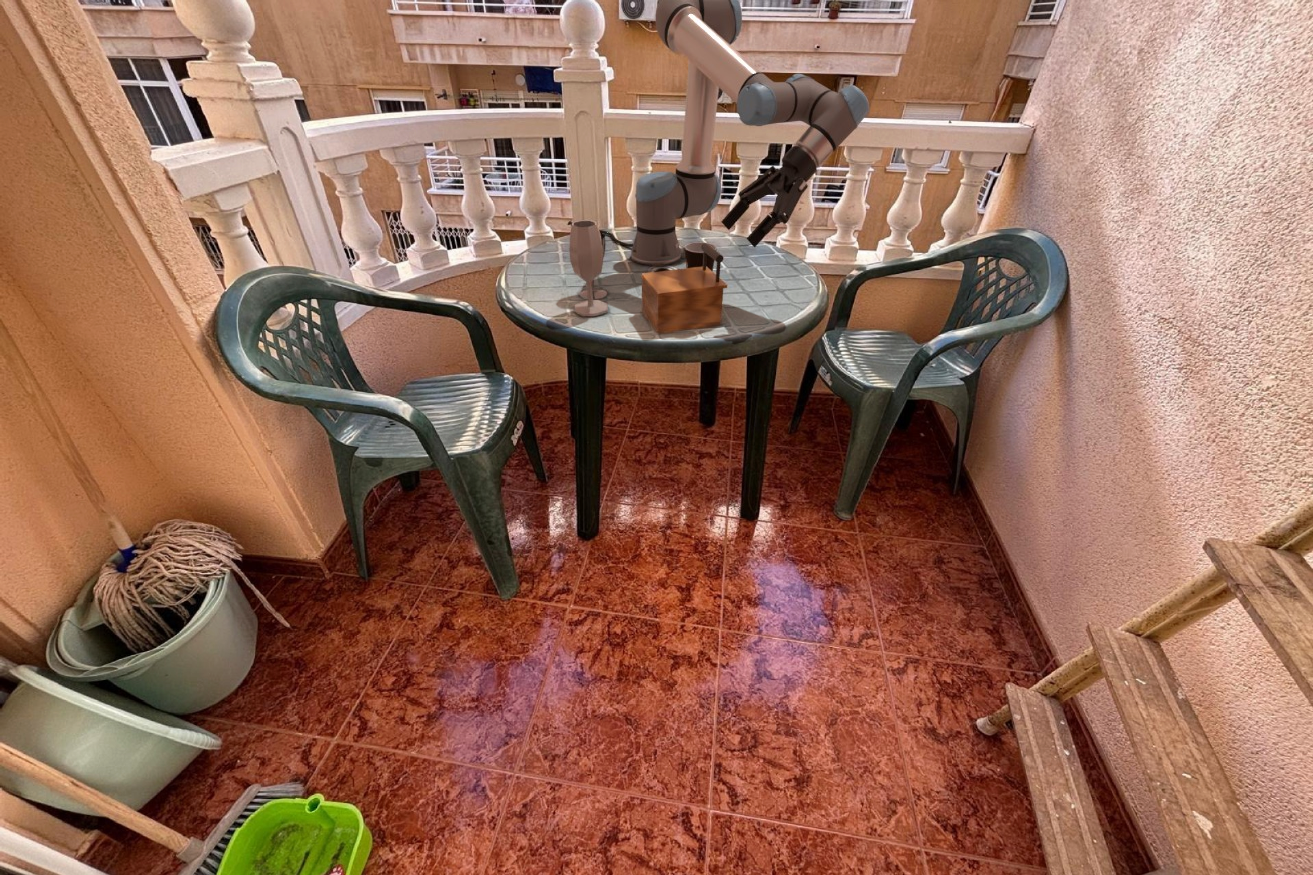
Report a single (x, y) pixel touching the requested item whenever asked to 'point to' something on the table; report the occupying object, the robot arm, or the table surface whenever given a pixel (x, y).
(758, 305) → the table surface
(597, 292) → the wine glass
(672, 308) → the chest
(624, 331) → the table surface
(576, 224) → the wineglass
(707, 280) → the lid
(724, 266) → the table surface
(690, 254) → the coffee mug
